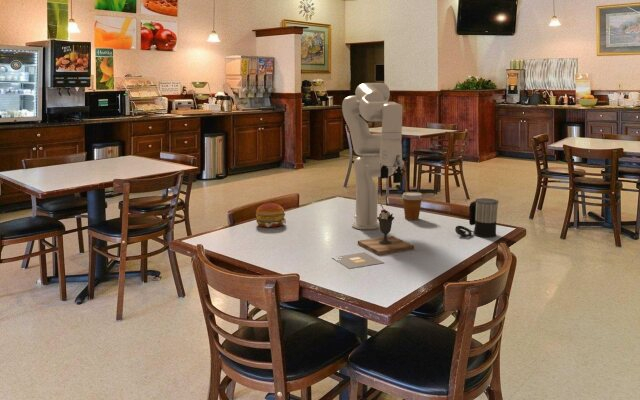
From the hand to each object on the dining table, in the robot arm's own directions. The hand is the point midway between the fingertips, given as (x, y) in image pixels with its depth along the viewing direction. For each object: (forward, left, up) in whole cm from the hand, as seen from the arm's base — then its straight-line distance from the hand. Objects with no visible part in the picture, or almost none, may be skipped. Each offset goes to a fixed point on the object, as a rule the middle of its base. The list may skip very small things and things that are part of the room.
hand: (390, 180), depth 223 cm
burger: (-51, -31, -26) cm, 65 cm away
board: (+2, -3, -26) cm, 26 cm away
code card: (+12, -21, -26) cm, 36 cm away
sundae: (+2, -3, -24) cm, 25 cm away
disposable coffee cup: (-32, +32, -26) cm, 52 cm away
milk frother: (+5, +39, -26) cm, 47 cm away
